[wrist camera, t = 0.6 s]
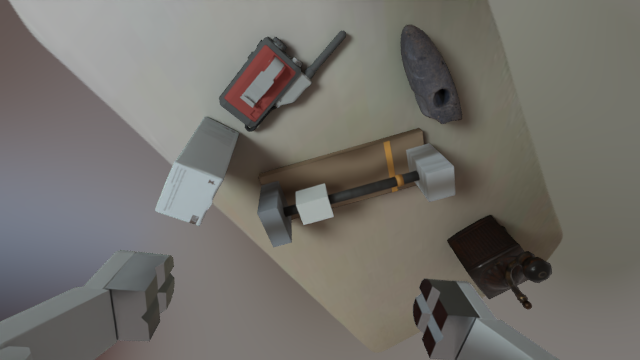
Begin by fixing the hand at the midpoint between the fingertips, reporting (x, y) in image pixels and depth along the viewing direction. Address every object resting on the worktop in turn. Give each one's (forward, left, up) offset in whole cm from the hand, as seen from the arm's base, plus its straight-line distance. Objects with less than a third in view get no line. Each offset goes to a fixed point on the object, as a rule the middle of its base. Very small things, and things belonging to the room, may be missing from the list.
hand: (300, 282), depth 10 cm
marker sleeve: (+20, -3, -35) cm, 40 cm away
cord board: (+20, +3, -39) cm, 44 cm away
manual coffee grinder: (+42, +26, -40) cm, 63 cm away
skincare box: (+8, -16, -40) cm, 43 cm away
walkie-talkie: (-1, -2, -40) cm, 40 cm away
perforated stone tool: (+6, +18, -40) cm, 44 cm away
